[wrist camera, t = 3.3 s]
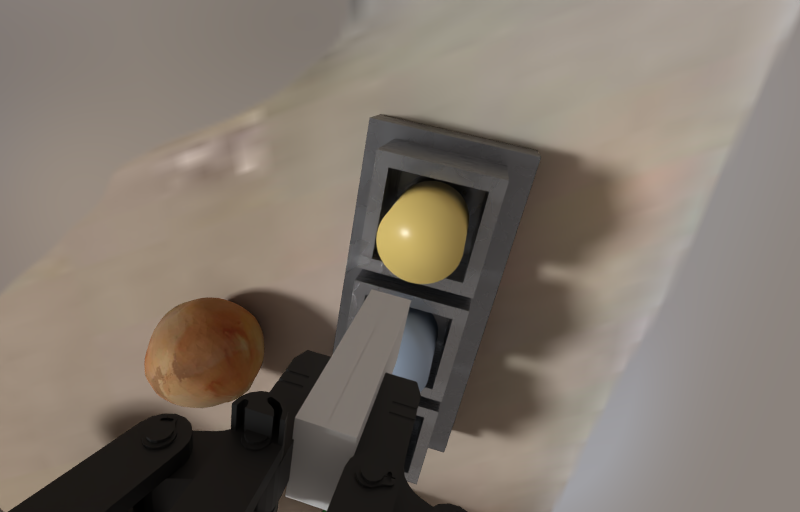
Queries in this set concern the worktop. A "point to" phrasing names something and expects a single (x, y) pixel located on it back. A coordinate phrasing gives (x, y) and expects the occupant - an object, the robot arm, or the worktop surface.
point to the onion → (204, 353)
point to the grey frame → (478, 269)
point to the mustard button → (424, 233)
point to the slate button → (417, 347)
